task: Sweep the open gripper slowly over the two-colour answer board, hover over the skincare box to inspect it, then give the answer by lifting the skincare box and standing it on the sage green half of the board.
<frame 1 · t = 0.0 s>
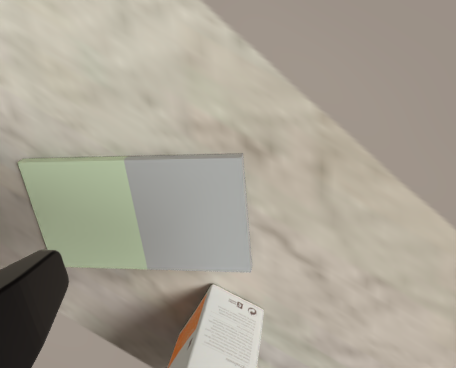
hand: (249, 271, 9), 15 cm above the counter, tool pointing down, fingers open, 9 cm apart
answer board: (139, 213, 27), on the counter
skincare box: (219, 319, 30), on the counter
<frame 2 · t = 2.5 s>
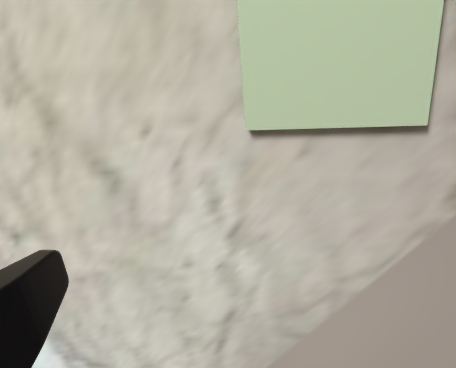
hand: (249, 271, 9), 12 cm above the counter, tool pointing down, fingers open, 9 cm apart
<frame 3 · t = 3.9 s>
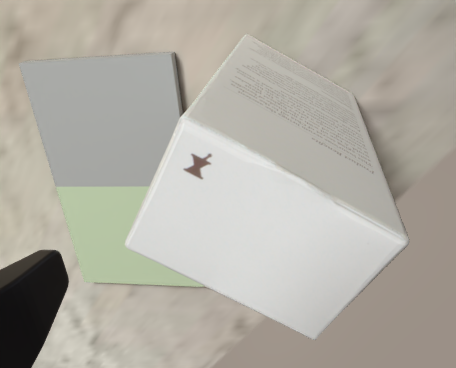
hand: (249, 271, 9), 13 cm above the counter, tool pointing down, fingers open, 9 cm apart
answer board: (124, 181, 24), on the counter
skincare box: (280, 101, 21), on the counter
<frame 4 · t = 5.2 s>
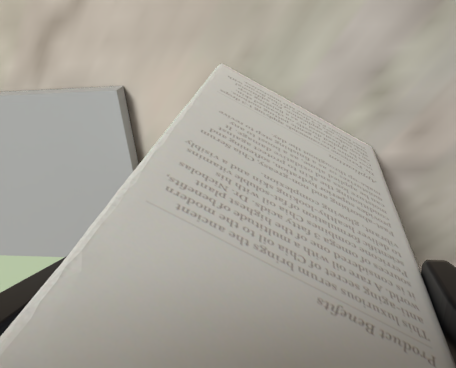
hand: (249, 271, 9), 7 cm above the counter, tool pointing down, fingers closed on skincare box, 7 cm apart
answer board: (68, 248, 18), on the counter
skincare box: (270, 152, 15), on the counter, touching gripper
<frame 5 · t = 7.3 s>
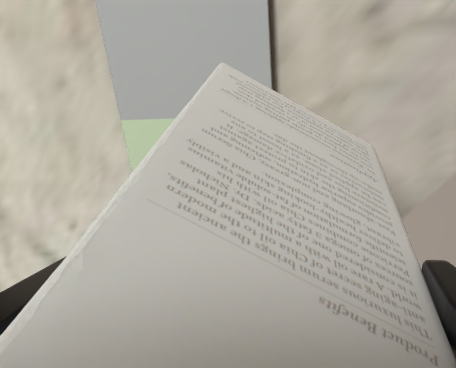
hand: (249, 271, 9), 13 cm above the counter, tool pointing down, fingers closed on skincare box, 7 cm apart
answer board: (196, 114, 22), on the counter
skincare box: (271, 151, 15), point 7 cm above the counter, touching gripper
when the fingers open (8 cm above the counter, at t = 9.4 s): skincare box drops 1 cm, resting on answer board.
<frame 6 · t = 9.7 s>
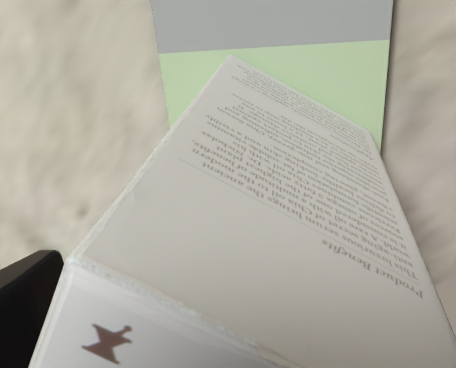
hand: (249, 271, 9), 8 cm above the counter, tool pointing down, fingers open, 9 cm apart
answer board: (269, 44, 15), on the counter
skincare box: (275, 138, 16), resting on answer board
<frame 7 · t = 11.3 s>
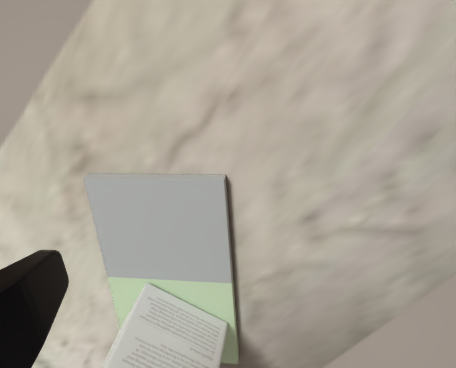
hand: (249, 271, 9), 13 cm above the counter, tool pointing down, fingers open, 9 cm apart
answer board: (170, 273, 27), on the counter
skincare box: (177, 319, 28), resting on answer board
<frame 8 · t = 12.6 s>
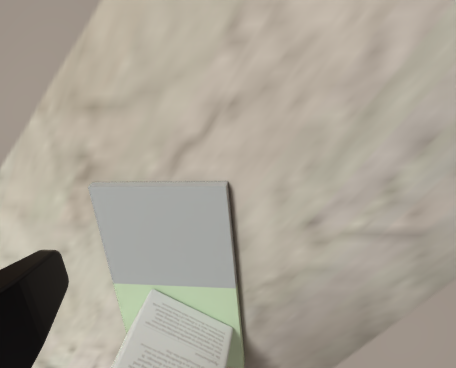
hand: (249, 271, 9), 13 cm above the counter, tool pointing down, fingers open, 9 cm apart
answer board: (175, 279, 27), on the counter
skincare box: (182, 324, 28), resting on answer board
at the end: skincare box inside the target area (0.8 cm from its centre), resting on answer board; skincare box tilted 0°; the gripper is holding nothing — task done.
